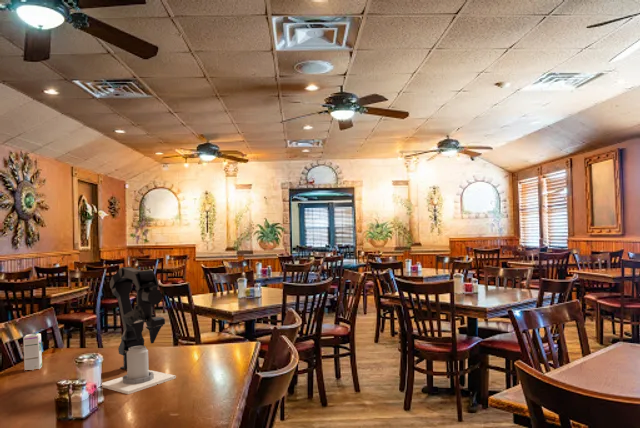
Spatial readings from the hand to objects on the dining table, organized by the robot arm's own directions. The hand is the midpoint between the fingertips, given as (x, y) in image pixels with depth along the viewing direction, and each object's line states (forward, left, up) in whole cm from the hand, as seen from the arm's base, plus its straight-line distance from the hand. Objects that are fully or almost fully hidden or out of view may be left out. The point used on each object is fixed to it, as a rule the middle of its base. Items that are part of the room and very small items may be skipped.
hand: (145, 341), depth 187 cm
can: (+6, -8, -12) cm, 15 cm away
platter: (+6, -8, -13) cm, 16 cm away
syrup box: (-54, -18, -13) cm, 58 cm away
